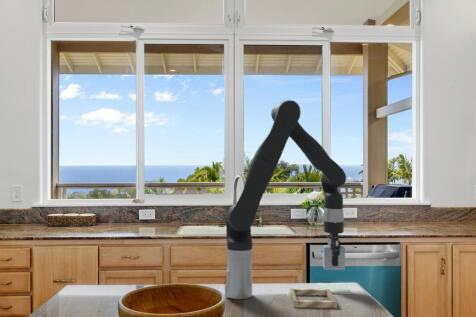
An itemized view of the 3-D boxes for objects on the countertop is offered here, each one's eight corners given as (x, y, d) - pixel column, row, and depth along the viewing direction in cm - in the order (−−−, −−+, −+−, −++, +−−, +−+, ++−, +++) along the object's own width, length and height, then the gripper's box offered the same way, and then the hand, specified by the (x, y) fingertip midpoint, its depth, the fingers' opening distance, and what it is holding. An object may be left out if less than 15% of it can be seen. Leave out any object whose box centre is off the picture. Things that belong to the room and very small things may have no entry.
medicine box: (343, 267, 162) (343, 245, 162) (345, 270, 158) (345, 247, 158) (322, 267, 163) (322, 245, 163) (324, 270, 158) (324, 247, 158)
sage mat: (321, 293, 155) (321, 291, 155) (317, 285, 166) (317, 283, 166) (351, 294, 154) (351, 291, 154) (344, 285, 165) (344, 283, 165)
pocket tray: (293, 307, 140) (293, 301, 140) (290, 294, 154) (290, 288, 154) (337, 308, 139) (337, 302, 139) (329, 294, 153) (329, 289, 153)
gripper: (321, 217, 168) (321, 260, 168) (327, 222, 154) (327, 268, 153) (339, 217, 167) (339, 260, 167) (347, 222, 153) (347, 269, 153)
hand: (333, 264), depth 160 cm, fingers closed on medicine box, 4 cm apart
